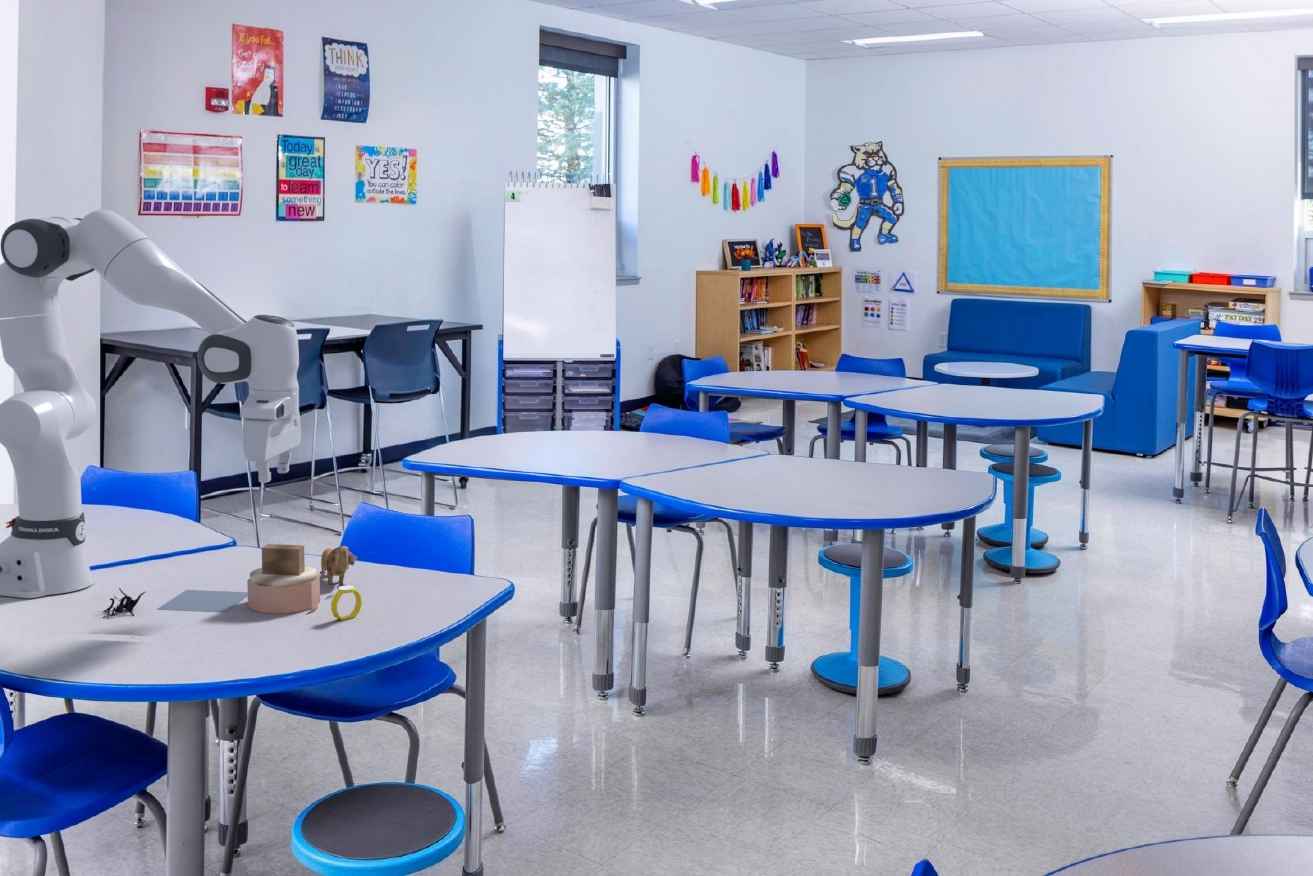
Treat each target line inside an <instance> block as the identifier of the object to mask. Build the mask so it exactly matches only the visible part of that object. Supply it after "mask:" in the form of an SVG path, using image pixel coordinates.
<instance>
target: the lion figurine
mask: <svg viewBox="0 0 1313 876" xmlns="http://www.w3.org/2000/svg"><path fill="white" fill-rule="evenodd" d="M357 559H358V557H357V556H356V555H355V554H353V553H352V552H351V551H350V550H349V547H348V546H346V545H344V546H343V545H341V546H338V547H336V548H331V547H328V548H327V549H324V550H323V552H322V554H321V558H320V560H321V561H320V564H321V565H320V568H321V570H320V572H319V575H320V578H323V577H325V575H326V577H327V585H334V582H333V577H334V576H335V577H338V587H339V586H340V587H341V586H347V585H346V584H345V583H344V578H345V574H346V572H347V571H349V570H348V569H349V567H350V566H352V567H353V566H355V563H356V561H357ZM349 565H350V566H349Z"/></svg>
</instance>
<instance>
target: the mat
mask: <svg viewBox="0 0 1313 876" xmlns="http://www.w3.org/2000/svg"><path fill="white" fill-rule="evenodd" d="M246 598H248V591H225V590H223V591H222V590H202V589H201V590H199V589H196V590H195V589H184V591H183V592H181V593H179V594H177V595H176V596H174V597H173V598H171V599H170V600H169V601H167V602H165V603H164V604H163V605H161V606H159V607H157V608H156V610H158V611H159V610H161V611H186V612H208V613H228V612H229V611H230V610H232V609H234V607H235V606H237V605H239V604H240V603H241V602H242V601H244V600H245V599H246Z"/></svg>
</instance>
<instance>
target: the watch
mask: <svg viewBox="0 0 1313 876" xmlns="http://www.w3.org/2000/svg"><path fill="white" fill-rule="evenodd" d="M350 593H353V594H354V597H355V605H354V609H353V610H352V611H351V613H350V614H347V615H343V616H340V614H339V611H338V602H339V601H340V599H341V596H343V595H344V594H350ZM362 604H363V601H362V595H361V594H360V592H359V591H358V590H356V589H355V587H354V586H353V585H346V586H341V587H339V586H338V590H337V592H336V593H335V594H334V596H333V597H332V600H331V605H330V609H331V613H332V615H333V616H334V617H335V618H336V619H337V620H339V621H346V620H349V619H353V618H356V617H357V615H359V613H360V611H361V608H362Z"/></svg>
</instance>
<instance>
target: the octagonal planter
mask: <svg viewBox="0 0 1313 876" xmlns="http://www.w3.org/2000/svg"><path fill="white" fill-rule="evenodd" d="M246 582H247V584H246V585H247V592H248V597H247V607H248V608H249V609H250V608H251V609H253V611H256V612H259V613H263V614H264V613H265V614H275V615H276V614H279V615H280V614H284V615H285V614H292V613H299V612H304V611H308V610H309V611H308V612H307V613H306V614H305V616H307V615H309V614H313V613H314V612H316V611H317V610H318V604H319V603H320V602H321V575H320V574H317V578H316V579H315V580H313V581H311V582H308V583H305V584H300V585H294V586H283V587H271V586H262V585H257V584H254V583H252V582H251V581H250V578H249V579H247V581H246Z"/></svg>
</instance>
